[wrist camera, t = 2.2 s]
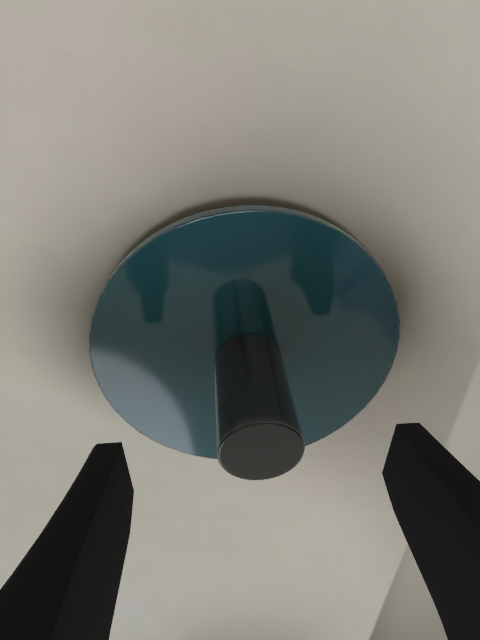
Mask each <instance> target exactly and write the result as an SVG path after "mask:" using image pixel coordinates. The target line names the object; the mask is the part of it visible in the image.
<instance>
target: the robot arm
mask: <svg viewBox="0 0 480 640" xmlns="http://www.w3.org/2000/svg"><path fill="white" fill-rule="evenodd" d="M382 474H383V477H384V481H385V484H386V487H387V491H388V494H389V497H390V500H391V503H392V506H393V509H394V512H395V515H396V517H397V519H398V522H399V524H400V526H401V529H402V531H403V533H404V536H405V538H406V540H407V542H408V545H409V547H410V549H411V551H412V553H413V556H414V558H415V560H416V563H417V565H418V567H419V569H420V572H421V574H422V576H423V578H424V581H425V583H426V585H427V587H428V590H429V592H430V594H431V597H432V599H433V601H434V604H435V606H436V608H437V611H438V614H439V616H440V618H441V621H442V624H443V627H444V629H445V632H446V635H447V638H448V640H480V481H479V480H478V479H477V478H475V476H473V475H472V474H471V473H470V472H469V471H468V470H467V469H466V468H465V467H464V466H463V465H462V464H461V463H460V462H459V461H458V460H457V459H456V458H454V456H453V455H451V453H449V452H448V451H447V450H446V449H445V448H444V447H443V446H442V445H441V444H440V443H439V442H438V441H437V440H436V439H435V438H434V437H433V436H432V435H431V434H430V433H429V432H428V431H427V430H426V429H425V428H424V427H423V426H422V425H421V424H420V423H407V424H396V428H395V431H394V435H393V438H392V441H391V445H390V448H389V452H388V455H387V458H386V462H385V465H384V469H383V472H382ZM133 493H134V490H133V486H132V482H131V478H130V474H129V470H128V466H127V462H126V458H125V454H124V450H123V446H122V442H119V443H104V444H97V445H96V446H95V447H94V448H93V449H92V451H91V453H90V455H89V457H88V458H87V460H86V462H85V464H84V466H83V467H82V469H81V471H80V472H79V474H78V476H77V478H76V479H75V481H74V483H73V484H72V486H71V488H70V489H69V491H68V492H67V494H66V496H65V497H64V499H63V500H62V502H61V504H60V505H59V507H58V508H57V510H56V511H55V513H54V514H53V516H52V517H51V519H50V521H49V522H48V524H47V525H46V527H45V528H44V530H43V531H42V533H41V534H40V536H39V537H38V539H37V540H36V541H35V543H34V544H33V546H32V547H31V548H30V550H29V551H28V553H27V554H26V555H25V557H24V558H23V560H22V561H21V562H20V564H19V565H18V567H17V568H16V570H15V571H14V572H13V574H12V575H11V576H10V578H9V579H8V580H7V582H6V583H5V584H4V586H3V587H2V588H1V590H0V640H109V635H110V629H111V624H112V619H113V614H114V609H115V604H116V599H117V594H118V590H119V585H120V580H121V575H122V570H123V565H124V560H125V555H126V550H127V545H128V539H129V534H130V526H131V516H132V505H133Z"/></svg>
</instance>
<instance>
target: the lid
mask: <svg viewBox="0 0 480 640" xmlns="http://www.w3.org/2000/svg"><path fill="white" fill-rule="evenodd" d="M399 325H400V319H399V312H398V306H397V301H396V298H395V295H394V292H393V289H392V286H391V284H390V283H389V281H388V279H387V277H386V275H385V273H384V271H383V270H382V269H381V267H380V266H379V265H378V263H377V262H376V261H375V260H374V258H373V257H372V256H371V255H370V253H369V252H368V251H367V250H366V249H365V248H364V247H363V246H362V245H361V244H360V243H358V242H357V241H356V240H355V239H354V238H353V237H352V236H350V235H349V234H347V233H346V232H344V231H343V230H341V229H340V228H338V227H337V226H335V225H333V224H331V223H329V222H327V221H325V220H323V219H320V218H318V217H316V216H313V215H310V214H307V213H304V212H300V211H297V210H294V209H288V208H282V207H276V206H264V205H241V206H231V207H222V208H217V209H213V210H209V211H204V212H200V213H197V214H194V215H191V216H189V217H186V218H183V219H181V220H178V221H176V222H174V223H172V224H170V225H168V226H166V227H164V228H163V229H161V230H159V231H157V232H155V233H154V234H152V235H151V236H150V237H148V238H147V239H146V240H144V241H143V242H141V243H140V244H139V245H137V246H136V247H135V248H134V249H133V250H132V251H131V252H130V253H129V254H128V255H127V256H126V257H125V258H124V259H123V260H122V261H121V263H120V264H119V265H118V266H117V268H116V269H115V270H114V272H113V273H112V274H111V276H110V277H109V279H108V281H107V283H106V285H105V287H104V288H103V290H102V292H101V294H100V296H99V299H98V301H97V304H96V307H95V310H94V313H93V316H92V321H91V327H90V333H89V352H90V357H91V363H92V368H93V371H94V374H95V377H96V380H97V382H98V385H99V387H100V388H101V390H102V392H103V394H104V396H105V398H106V399H107V400H108V402H109V403H110V404H111V406H112V407H113V408H114V410H115V411H116V412H117V413H118V414H119V415H120V416H121V417H122V418H123V419H124V420H125V421H126V422H127V423H128V424H130V425H131V426H132V427H134V428H135V429H136V430H137V431H139V432H140V433H142V434H144V435H145V436H147V437H148V438H150V439H152V440H154V441H156V442H158V443H160V444H162V445H164V446H166V447H169V448H172V449H175V450H177V451H180V452H183V453H188V454H192V455H196V456H201V457H207V458H214V459H218V461H219V463H220V464H221V466H222V467H223V468H224V469H225V470H226V471H227V472H228V473H230V474H232V475H234V476H236V477H239V478H242V479H248V480H264V479H270V478H274V477H277V476H280V475H282V474H284V473H286V472H288V471H289V470H291V469H292V468H294V467H295V466H296V465H297V464H298V462H299V461H300V460H301V458H302V456H303V453H304V449H305V446H307V445H309V444H312V443H314V442H316V441H318V440H320V439H322V438H324V437H326V436H328V435H329V434H331V433H333V432H334V431H336V430H338V429H339V428H341V427H342V426H343V425H345V424H346V423H347V422H349V421H350V420H351V419H353V418H354V417H355V416H356V415H357V414H358V413H359V412H360V411H361V410H362V409H364V408H365V407H366V405H367V404H368V403H369V402H370V401H371V400H372V398H373V397H374V396H375V395H376V393H377V392H378V390H379V389H380V387H381V386H382V384H383V383H384V381H385V379H386V377H387V375H388V373H389V371H390V369H391V367H392V364H393V361H394V358H395V355H396V352H397V347H398V341H399Z"/></svg>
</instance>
